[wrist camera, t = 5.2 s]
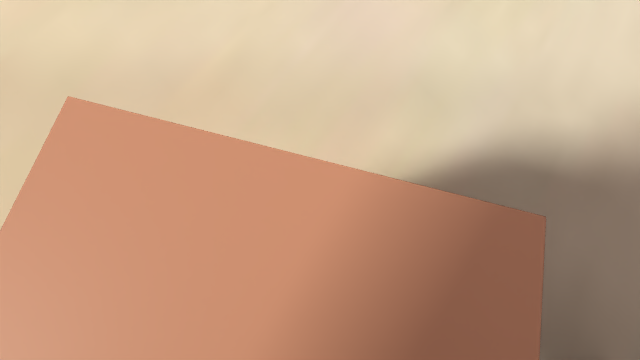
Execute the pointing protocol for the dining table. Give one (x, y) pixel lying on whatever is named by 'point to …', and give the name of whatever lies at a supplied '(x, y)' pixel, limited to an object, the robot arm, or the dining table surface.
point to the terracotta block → (252, 255)
